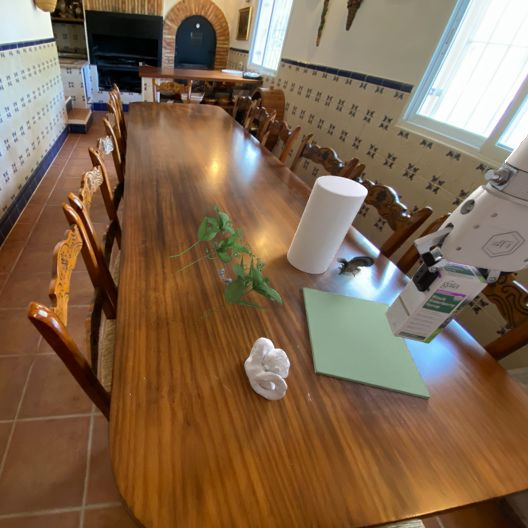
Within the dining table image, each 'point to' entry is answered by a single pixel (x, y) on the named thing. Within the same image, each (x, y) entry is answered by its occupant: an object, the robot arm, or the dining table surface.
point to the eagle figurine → (355, 264)
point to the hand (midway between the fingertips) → (439, 289)
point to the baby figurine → (267, 369)
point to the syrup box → (434, 302)
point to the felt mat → (359, 343)
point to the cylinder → (325, 223)
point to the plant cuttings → (236, 286)
